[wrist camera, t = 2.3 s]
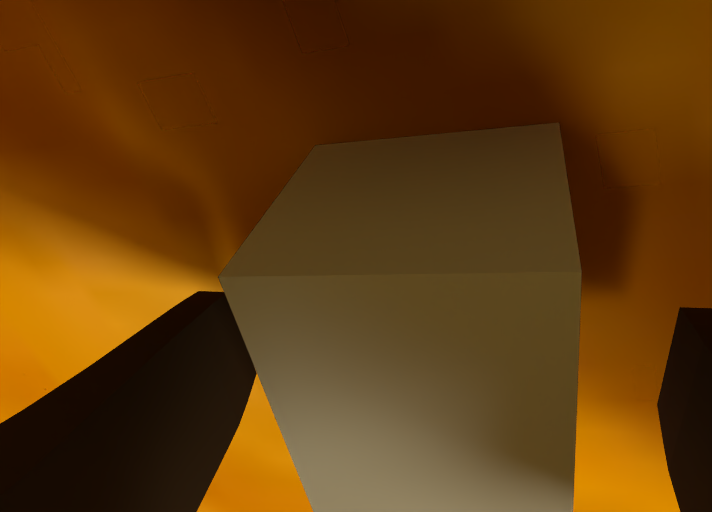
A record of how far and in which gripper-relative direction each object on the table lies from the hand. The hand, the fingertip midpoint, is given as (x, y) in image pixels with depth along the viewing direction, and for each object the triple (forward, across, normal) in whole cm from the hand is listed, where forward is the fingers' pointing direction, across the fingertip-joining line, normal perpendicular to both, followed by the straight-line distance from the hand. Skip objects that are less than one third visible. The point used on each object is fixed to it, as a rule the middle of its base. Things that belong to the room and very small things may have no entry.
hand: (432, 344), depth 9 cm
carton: (+2, 0, 0) cm, 2 cm away
